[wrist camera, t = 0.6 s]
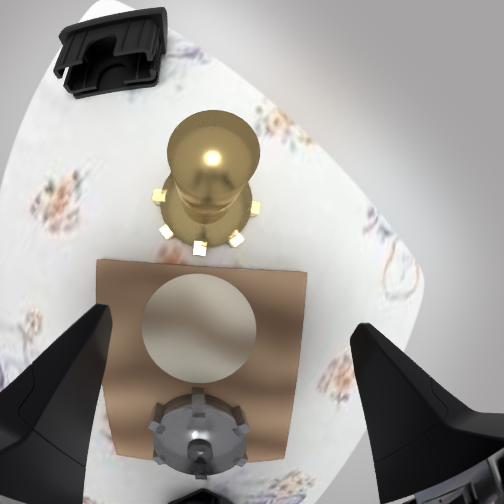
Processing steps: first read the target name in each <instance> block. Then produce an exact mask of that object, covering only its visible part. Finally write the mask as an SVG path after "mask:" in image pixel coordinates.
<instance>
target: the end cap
mask: <svg viewBox="0 0 504 504" xmlns="http://www.w3.org/2000/svg"><path fill="white" fill-rule="evenodd" d="M167 27H168V25H167V12H166V9H165V8H164V7H158V8H149V9H142V10H134V11H128V12H123V13H118V14H113V15H108V16H103V17H99V18H95V19H91V20H88V21H84V22H80V23H77V24H74V25H71V26H68V27H66V28H64V29H63V30H62V31H61V33H60V35H59V39H60V40H61V43H62V44H63V47H62V49H61V52H60V54H59V57H58V59H57V62H56V64H55V67H54V70H53V72H54V74H55V75H56V76H57V78H58V79H60V78H62V76H63V73H64V70H65V68H66V67H69V69H68V72H67V75H66V78H65V82H64V85H63V86H64V88H65V89H66V90H67V92H69V93H73V96H74V97H75V98H76V99H80V98H85V97H89V96H94V95H99V94H105V93H111V92H117V91H123V90H131V89H139V88H148V87H154V86H156V85H157V83H158V78H159V71H160V64H161V57H162V54H165V53H166V45H167Z"/></svg>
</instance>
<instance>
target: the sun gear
mask: <svg viewBox="0 0 504 504" xmlns="http://www.w3.org/2000/svg"><path fill="white" fill-rule="evenodd" d="M148 429H150V430H152V431H154V435H153V446H154V451H153V457H152V458H153V459H154V460H155V461H156V462H157V463H158V464H159V465H161V464H167V465H168V466H170V467H171V468H173V469H175V470H177V471H180V472H183V473H186V474H191V475H195V477H196V479H207V475H214V474H218V473H221V472H224V471H227V470H229V469H230V468H232V467H234V466H235V465H238V466H241V467H242V466H243V465H244V464H245V463H246V462H247V461H248V457H247V454H246V438H245V435H244V434H246V433H248V432H250V431H251V430H250V427H249V424H248V421H247V418H246V415H245V412H244V411H243V409H242V408H241V406H240V405H238V406H236V407H234V408H233V407H231V406H230V405H229V404H228V403H227V402H225V401H223V400H221V399H219V398H217V397H214V396H211V395H206V394H204V388H195V387H192V394H186V395H181V396H178V397H176V398H173V399H171V400H170V401H168V402H167V403H166V404H165V405H162V404H160V403H158V402H157V403H156V405H155V406H154V408H153V409H152V412H151V416H150V420H149V424H148Z"/></svg>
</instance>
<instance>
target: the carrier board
mask: <svg viewBox="0 0 504 504" xmlns="http://www.w3.org/2000/svg"><path fill="white" fill-rule="evenodd" d="M306 283H307V273H306V272H299V271H278V270H259V269H241V268H223V267H207V266H191V265H176V264H161V263H147V262H133V261H120V260H107V259H97V265H96V304H97V303H104V304H108V305H109V307H110V311H111V316H112V320H113V327H112V333H111V338H110V344H109V350H108V357H107V363H106V368H105V372H104V376H103V380H102V385H103V392H104V398H105V404H106V410H107V415H108V420H109V425H110V430H111V434H112V438H113V443H114V447H115V451H116V454H117V455H121V456H126V457H132V458H139V459H147V460H154V459H153V458H152V457H153V451H154V446H153V435H154V431H152V430H150V429H148V424H149V420H150V416H151V412H152V409H153V408H154V406H155V405H156V403H157V402H158V403H160V404H162V405H165V404H166V403H167V402H168V401H170V400H171V399H173V398H176V397H178V396H181V395H186V394H192V387H195V388H204V394H206V395H211V396H214V397H217V398H219V399H221V400H223V401H225V402H227V403H228V404H229V405H230V406H231V407H233V408H234V407H236V406H238V405H240V406H241V408H242V409H243V411H244V412H245V415H246V418H247V421H248V424H249V427H250V430H251V431H250V432H248V433H246V434H244V435H245V438H246V454H247V457H248V461H247V462H260V461H270V460H279V459H284V457H285V451H286V446H287V440H288V434H289V428H290V422H291V415H292V409H293V402H294V395H295V388H296V381H297V373H298V365H299V356H300V348H301V338H302V329H303V318H304V307H305V296H306ZM247 462H246V463H247Z"/></svg>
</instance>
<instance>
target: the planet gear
mask: <svg viewBox="0 0 504 504" xmlns="http://www.w3.org/2000/svg"><path fill="white" fill-rule="evenodd" d="M167 158H168V163H169V166H170V169H171V172H172V173H171V174H170V175H169V177H168V178H167V180H166V182H165V184H164V186H163V189H154V193H153V198H152V200H153V202H154V203H155V204H156V205H160V207H161V213H162V216H163V219H164V221H165V223H166V225H164V226H163V227H162V228H161V229H159V230H160V231H161V232H162V234H163V235H164V236H165V238H166V239H168V240H170V239H172V238H173V237H174V236H176V237H177V238H179V239H180V240H182V241H183V242H185V243H187V244H189V245H192V246H194V252H193V254H195V255H203V256H205V253H206V248H209V247H215V246H219V245H222V244H224V243H226V242H228V243H229V245H230V246H231V247H232V248H233V247H236V246H237V245H238V244H240V243H241V242H242V241H243V240H244V239H243V237H242V236H241V235H240V234H239V233H240V232H241V231H242V229H243V228H244V227H245V225H246V223H247V221H248V219H249V217H255V216H256V215H258V214H259V209H260V202H255V201H252V194H251V189H250V187H249V184H248V181H249V179H250V178H251V177H252V175H253V174H254V172H255V170H256V168H257V166H258V163H259V158H260V146H259V142H258V139H257V136H256V134H255V132H254V131H253V129H252V128H251V127H250V126H249V124H248V123H247V122H245V121H244V120H243V119H241V118H240V117H238V116H236V115H234V114H232V113H229V112H226V111H220V110H208V111H202V112H198V113H196V114H193V115H191V116H189V117H188V118H186V119H185V120H183V121H182V122H181V123H180V124H179V125H178V126H177V127H176V128H175V130H174V131H173V133H172V135H171V137H170V139H169V143H168V148H167Z"/></svg>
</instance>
